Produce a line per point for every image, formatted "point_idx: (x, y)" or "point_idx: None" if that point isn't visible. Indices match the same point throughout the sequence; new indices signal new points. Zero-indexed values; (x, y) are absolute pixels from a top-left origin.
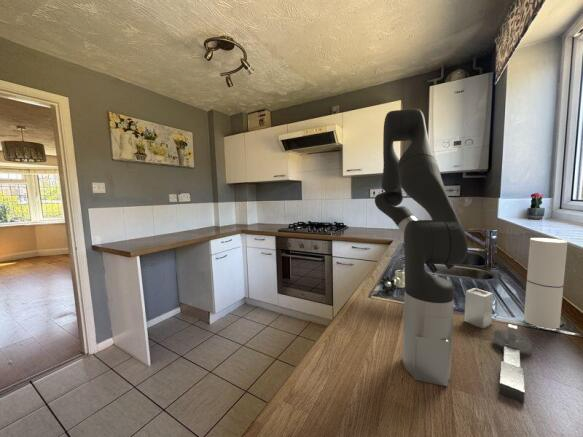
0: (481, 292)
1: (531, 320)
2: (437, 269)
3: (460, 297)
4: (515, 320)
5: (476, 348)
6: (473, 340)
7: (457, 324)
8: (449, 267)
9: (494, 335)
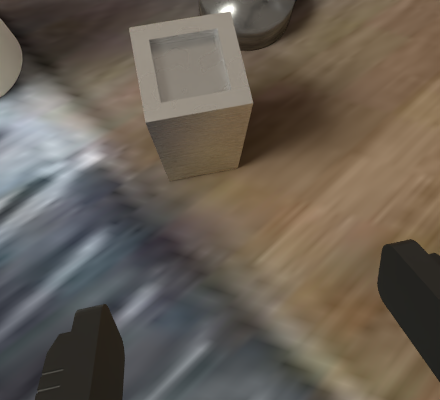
0: (157, 79)
1: (10, 55)
2: (412, 242)
3: (3, 369)
4: (28, 110)
5: (357, 37)
6: (326, 68)
7: (288, 158)
8: (119, 342)
9: (288, 12)
